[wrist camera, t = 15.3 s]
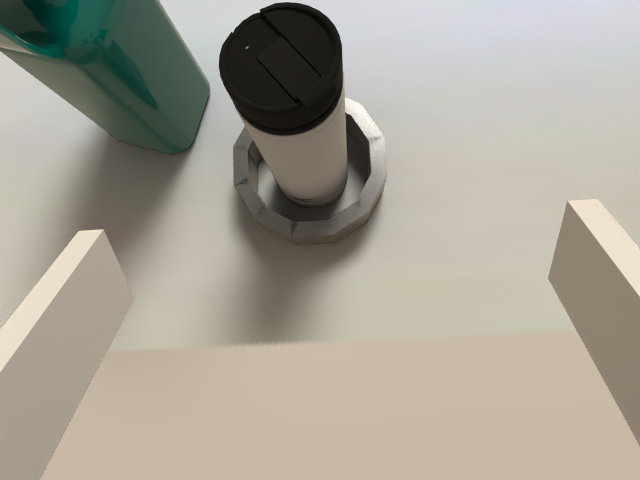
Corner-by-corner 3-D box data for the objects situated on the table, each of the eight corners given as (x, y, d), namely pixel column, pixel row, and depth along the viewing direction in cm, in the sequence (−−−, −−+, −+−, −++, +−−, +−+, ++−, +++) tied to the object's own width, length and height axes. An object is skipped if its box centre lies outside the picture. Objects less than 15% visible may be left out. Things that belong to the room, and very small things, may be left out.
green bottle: (135, 58, 45) (-68, -183, 23) (216, 77, 44) (85, -156, 22) (101, 152, 44) (-147, -11, 22) (185, 173, 43) (12, 25, 21)
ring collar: (406, 145, 42) (411, 127, 38) (343, 268, 40) (341, 262, 36) (284, 89, 43) (278, 67, 39) (220, 205, 42) (206, 194, 38)
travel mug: (310, 225, 41) (271, 141, 21) (264, 171, 42) (187, 43, 22) (364, 181, 41) (375, 57, 22) (317, 128, 42) (286, -35, 23)
